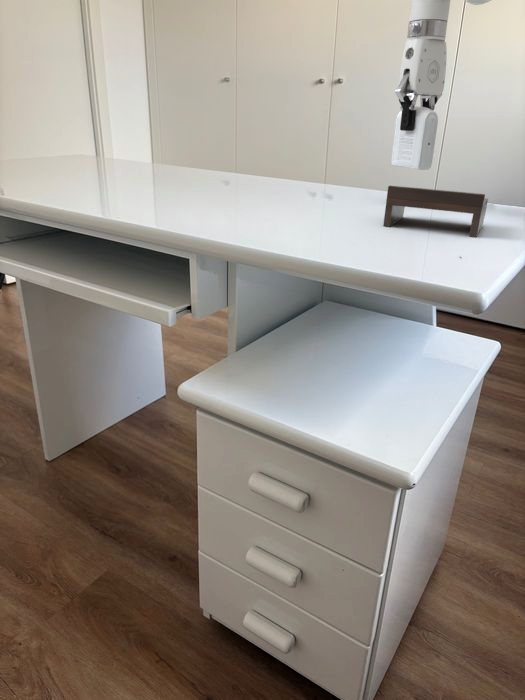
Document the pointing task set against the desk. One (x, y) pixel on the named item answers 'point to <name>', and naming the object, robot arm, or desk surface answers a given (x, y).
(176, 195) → the desk surface
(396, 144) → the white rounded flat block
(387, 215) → the shelf
